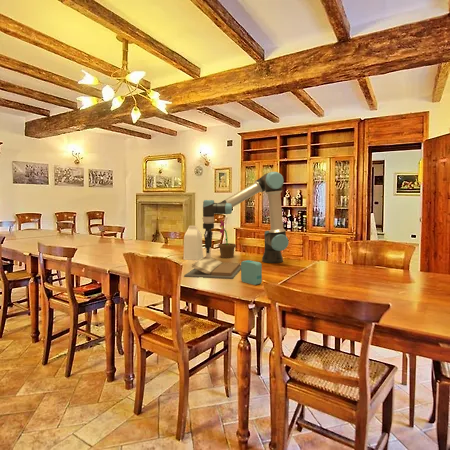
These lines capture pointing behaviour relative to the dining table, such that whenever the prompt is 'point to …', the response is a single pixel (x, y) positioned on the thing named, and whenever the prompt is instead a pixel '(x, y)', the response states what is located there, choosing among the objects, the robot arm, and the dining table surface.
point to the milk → (193, 244)
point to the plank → (206, 265)
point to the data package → (251, 272)
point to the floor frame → (218, 271)
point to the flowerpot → (226, 245)
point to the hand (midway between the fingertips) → (208, 257)
